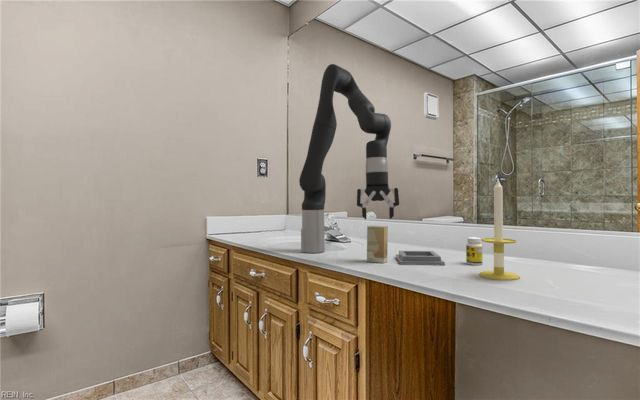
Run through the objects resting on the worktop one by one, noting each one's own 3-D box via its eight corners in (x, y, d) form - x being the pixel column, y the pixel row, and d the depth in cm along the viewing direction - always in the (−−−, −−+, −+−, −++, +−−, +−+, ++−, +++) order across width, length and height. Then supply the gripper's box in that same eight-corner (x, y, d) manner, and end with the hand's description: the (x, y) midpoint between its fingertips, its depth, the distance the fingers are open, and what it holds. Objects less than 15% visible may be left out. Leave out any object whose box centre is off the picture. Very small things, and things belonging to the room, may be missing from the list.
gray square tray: (400, 264, 109) (400, 256, 109) (395, 257, 123) (395, 250, 123) (444, 265, 107) (444, 257, 107) (435, 257, 121) (435, 250, 121)
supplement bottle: (463, 263, 110) (462, 237, 110) (473, 261, 112) (473, 236, 112) (475, 265, 106) (474, 239, 106) (485, 264, 108) (485, 238, 108)
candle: (502, 281, 85) (501, 176, 85) (470, 274, 95) (469, 178, 95) (528, 277, 89) (527, 176, 89) (495, 270, 99) (494, 178, 98)
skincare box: (366, 261, 114) (365, 226, 114) (370, 259, 118) (370, 225, 118) (384, 263, 111) (384, 226, 111) (388, 261, 115) (388, 225, 115)
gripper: (355, 171, 112) (357, 219, 112) (399, 169, 110) (400, 219, 110) (356, 173, 119) (357, 218, 119) (396, 171, 118) (397, 217, 118)
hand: (378, 218), depth 115 cm, fingers open, 8 cm apart
